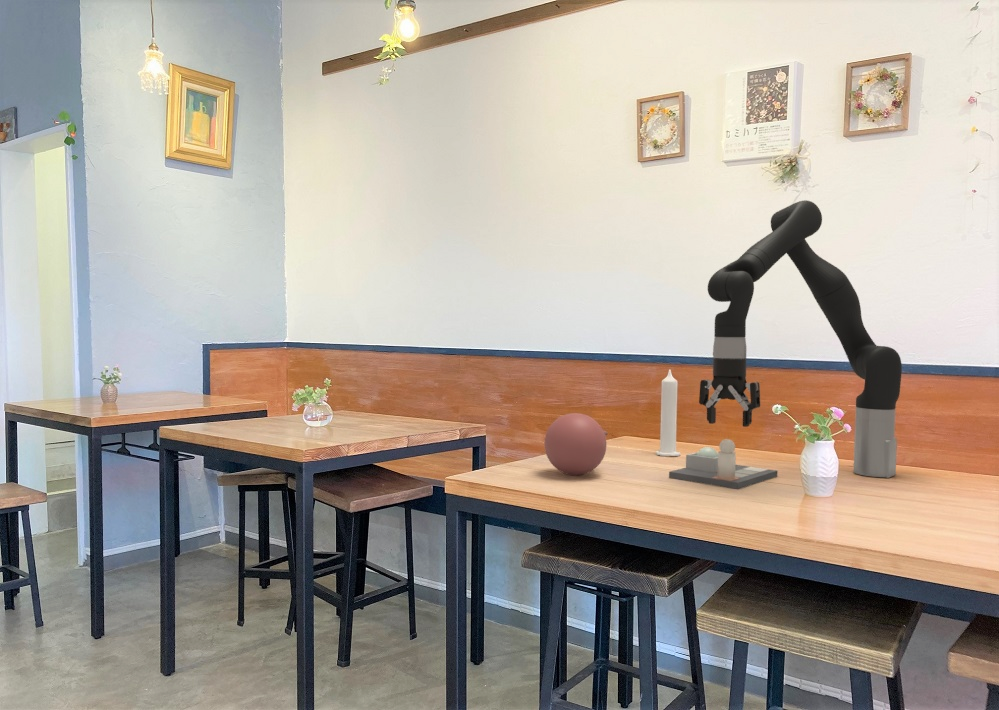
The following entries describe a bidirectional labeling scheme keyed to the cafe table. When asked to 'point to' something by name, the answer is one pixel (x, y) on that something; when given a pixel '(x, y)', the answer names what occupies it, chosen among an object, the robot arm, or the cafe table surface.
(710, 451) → the dome
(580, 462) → the mauve rubber ball
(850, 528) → the cafe table surface
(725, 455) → the pawn
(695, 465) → the game board
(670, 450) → the candle
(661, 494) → the cafe table surface
